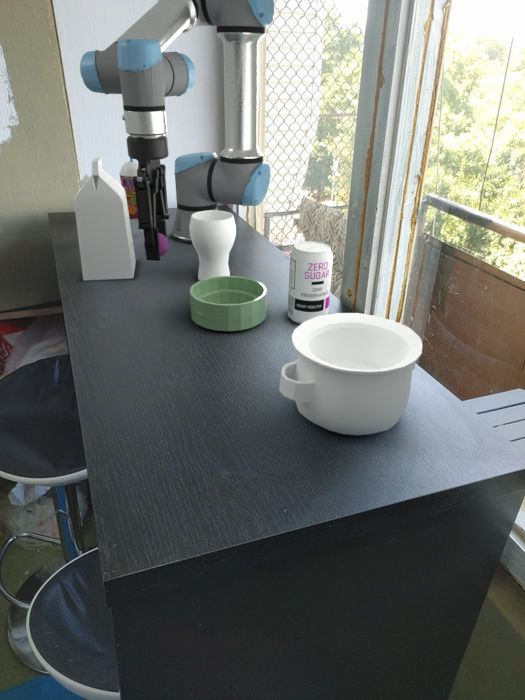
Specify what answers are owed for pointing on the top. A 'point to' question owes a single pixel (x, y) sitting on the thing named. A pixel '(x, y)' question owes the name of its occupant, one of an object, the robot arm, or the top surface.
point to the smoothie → (129, 186)
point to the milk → (103, 227)
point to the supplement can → (309, 280)
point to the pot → (351, 371)
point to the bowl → (228, 303)
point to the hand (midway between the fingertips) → (157, 255)
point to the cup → (212, 241)
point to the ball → (162, 244)
